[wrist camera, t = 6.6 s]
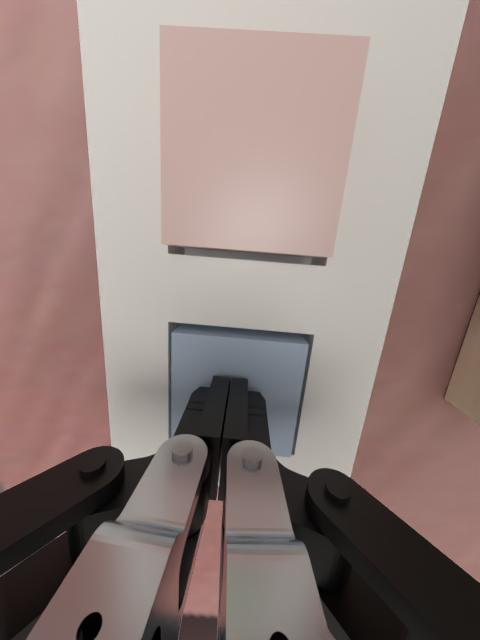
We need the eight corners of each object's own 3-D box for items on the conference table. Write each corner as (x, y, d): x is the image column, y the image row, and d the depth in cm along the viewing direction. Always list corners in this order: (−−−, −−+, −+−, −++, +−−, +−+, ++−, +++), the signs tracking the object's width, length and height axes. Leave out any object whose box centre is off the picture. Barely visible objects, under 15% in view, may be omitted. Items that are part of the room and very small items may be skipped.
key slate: (296, 326, 12) (308, 344, 9) (282, 419, 13) (290, 457, 11) (188, 316, 12) (171, 332, 10) (186, 409, 14) (171, 445, 11)
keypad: (483, -298, 7) (633, -657, 4) (326, 452, 15) (344, 499, 12) (111, -305, 8) (26, -648, 5) (140, 433, 15) (113, 475, 12)
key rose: (334, 103, 9) (370, 36, 6) (311, 257, 10) (332, 257, 8) (186, 94, 9) (159, 25, 6) (184, 247, 10) (161, 244, 8)
